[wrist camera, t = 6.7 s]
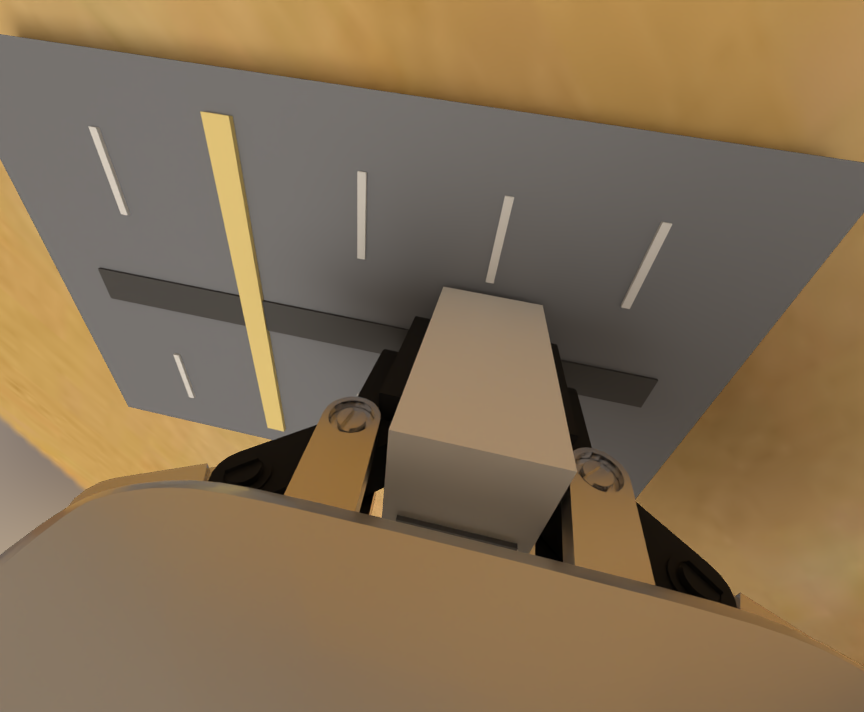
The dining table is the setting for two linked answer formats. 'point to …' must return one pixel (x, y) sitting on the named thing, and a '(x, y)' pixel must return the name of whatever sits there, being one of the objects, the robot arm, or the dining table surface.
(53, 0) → the dining table surface
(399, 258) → the console board
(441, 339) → the fader cap
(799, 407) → the dining table surface
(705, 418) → the dining table surface
